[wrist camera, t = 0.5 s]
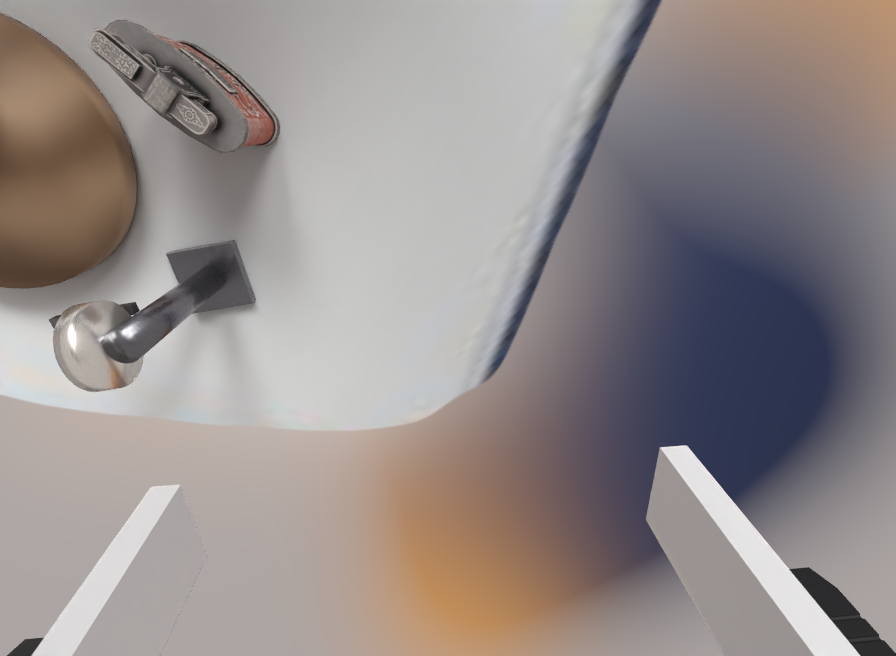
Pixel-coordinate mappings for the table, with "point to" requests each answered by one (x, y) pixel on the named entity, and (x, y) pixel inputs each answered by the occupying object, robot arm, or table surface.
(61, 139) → the turntable
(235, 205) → the table surface
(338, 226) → the table surface
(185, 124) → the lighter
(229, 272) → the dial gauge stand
